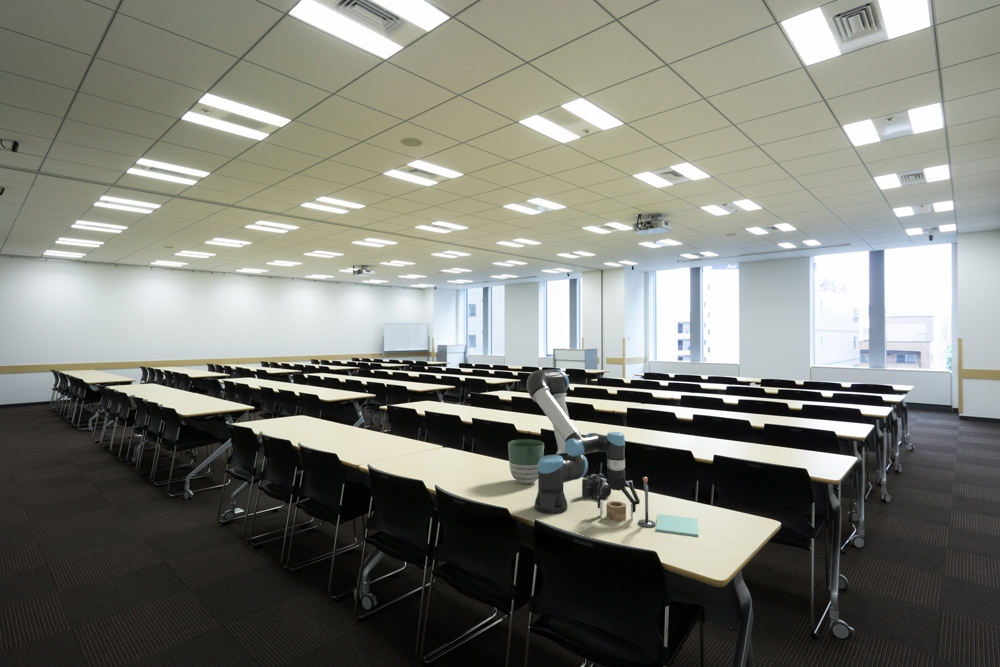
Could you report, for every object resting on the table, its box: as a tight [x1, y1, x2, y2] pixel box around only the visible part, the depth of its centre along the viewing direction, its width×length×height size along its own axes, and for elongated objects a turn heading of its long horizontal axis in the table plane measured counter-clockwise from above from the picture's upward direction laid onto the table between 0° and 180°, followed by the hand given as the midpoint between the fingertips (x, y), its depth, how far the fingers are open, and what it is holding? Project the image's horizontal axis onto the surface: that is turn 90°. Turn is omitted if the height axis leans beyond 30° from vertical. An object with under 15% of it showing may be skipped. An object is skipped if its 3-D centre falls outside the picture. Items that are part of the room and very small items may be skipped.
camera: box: [581, 472, 612, 499], centre depth 243 cm, size 14×11×10 cm
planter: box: [507, 439, 545, 485], centre depth 267 cm, size 20×20×21 cm
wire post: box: [637, 476, 656, 529], centre depth 205 cm, size 7×10×22 cm, turn 159°
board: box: [655, 513, 699, 537], centre depth 205 cm, size 16×18×1 cm
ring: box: [605, 500, 627, 523], centre depth 214 cm, size 8×8×6 cm
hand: (616, 517), depth 214 cm, fingers open, 12 cm apart
